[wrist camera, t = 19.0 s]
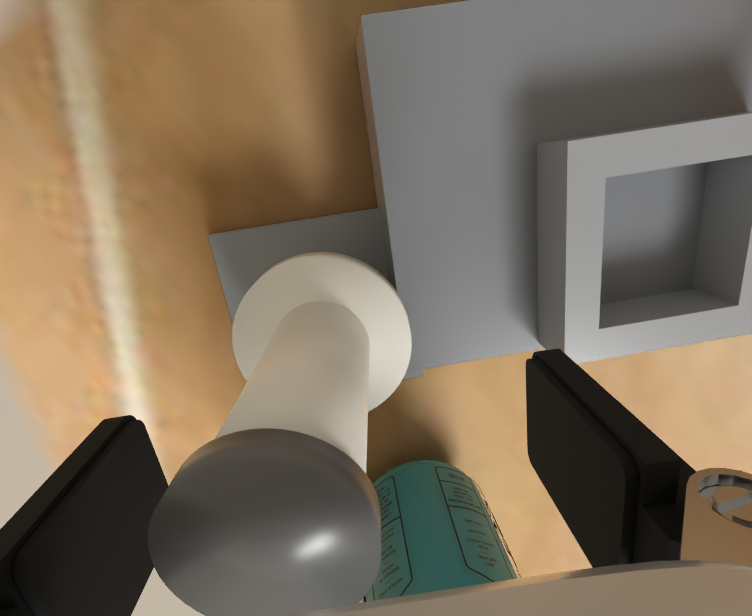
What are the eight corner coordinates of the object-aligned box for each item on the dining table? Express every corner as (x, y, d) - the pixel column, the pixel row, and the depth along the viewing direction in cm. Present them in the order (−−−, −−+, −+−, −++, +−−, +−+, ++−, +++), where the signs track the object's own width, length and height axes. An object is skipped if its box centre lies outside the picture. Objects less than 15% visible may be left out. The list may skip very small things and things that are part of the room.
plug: (395, 227, 17) (432, 367, 6) (412, 366, 19) (463, 655, 8) (241, 249, 17) (7, 421, 6) (276, 384, 20) (147, 685, 9)
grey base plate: (813, -20, 16) (1032, -102, 11) (759, 275, 20) (902, 314, 15) (355, 44, 16) (365, -10, 11) (395, 336, 20) (416, 398, 15)
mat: (401, 204, 18) (403, 205, 17) (420, 370, 21) (423, 376, 20) (211, 233, 18) (208, 236, 17) (257, 398, 20) (255, 404, 20)
